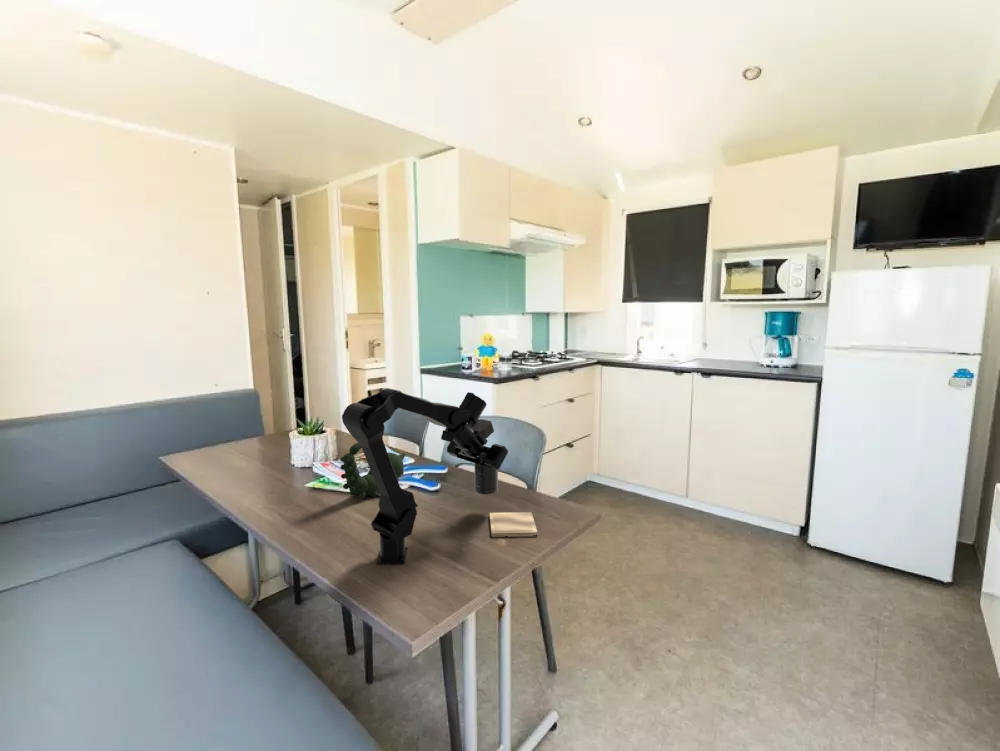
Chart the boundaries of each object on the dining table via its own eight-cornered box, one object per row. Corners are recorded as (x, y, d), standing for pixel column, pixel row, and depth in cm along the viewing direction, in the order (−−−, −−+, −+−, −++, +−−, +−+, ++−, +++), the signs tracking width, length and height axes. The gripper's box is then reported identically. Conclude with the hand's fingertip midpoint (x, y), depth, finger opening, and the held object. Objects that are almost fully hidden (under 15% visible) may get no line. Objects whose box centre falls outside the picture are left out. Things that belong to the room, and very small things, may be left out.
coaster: (537, 536, 123) (537, 532, 123) (491, 536, 123) (491, 532, 122) (531, 515, 135) (531, 511, 135) (489, 516, 134) (489, 512, 134)
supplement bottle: (485, 484, 142) (486, 445, 140) (502, 490, 137) (503, 450, 136) (469, 490, 137) (469, 450, 135) (486, 497, 132) (487, 456, 131)
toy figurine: (359, 512, 139) (417, 479, 159) (353, 452, 135) (413, 426, 155) (338, 504, 144) (397, 473, 164) (331, 446, 140) (392, 422, 160)
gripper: (504, 418, 125) (527, 449, 135) (454, 407, 136) (478, 436, 146) (484, 453, 120) (510, 483, 130) (434, 439, 131) (460, 467, 142)
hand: (489, 465), depth 137 cm, fingers closed on supplement bottle, 7 cm apart
